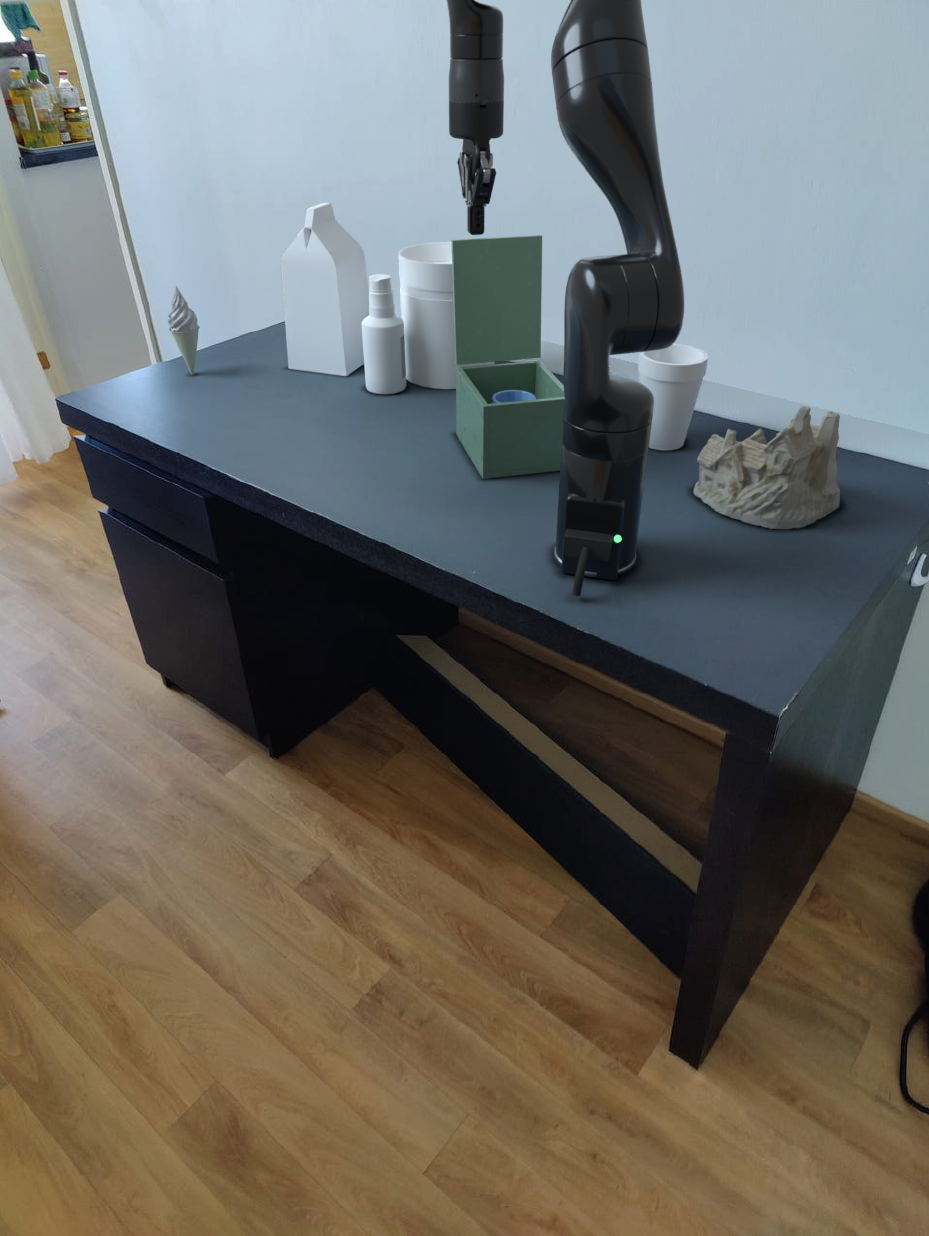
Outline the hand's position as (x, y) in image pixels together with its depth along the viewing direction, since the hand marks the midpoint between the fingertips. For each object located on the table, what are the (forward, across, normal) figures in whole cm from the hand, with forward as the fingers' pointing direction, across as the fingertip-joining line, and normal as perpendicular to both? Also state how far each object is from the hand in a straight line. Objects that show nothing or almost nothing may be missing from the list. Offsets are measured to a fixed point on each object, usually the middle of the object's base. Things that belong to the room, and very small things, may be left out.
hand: (475, 233), depth 130 cm
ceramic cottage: (+26, +44, +28) cm, 58 cm away
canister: (+26, -14, -1) cm, 29 cm away
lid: (+6, +13, 0) cm, 14 cm away
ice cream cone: (+26, -24, -45) cm, 57 cm away
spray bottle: (+26, -9, -13) cm, 30 cm away
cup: (+25, +22, 0) cm, 33 cm away
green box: (+25, +21, 0) cm, 33 cm away
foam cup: (+26, +23, +22) cm, 41 cm away
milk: (+26, -25, -20) cm, 41 cm away
